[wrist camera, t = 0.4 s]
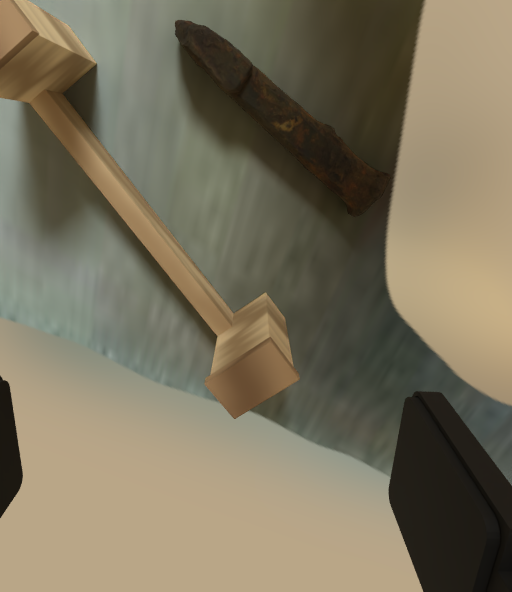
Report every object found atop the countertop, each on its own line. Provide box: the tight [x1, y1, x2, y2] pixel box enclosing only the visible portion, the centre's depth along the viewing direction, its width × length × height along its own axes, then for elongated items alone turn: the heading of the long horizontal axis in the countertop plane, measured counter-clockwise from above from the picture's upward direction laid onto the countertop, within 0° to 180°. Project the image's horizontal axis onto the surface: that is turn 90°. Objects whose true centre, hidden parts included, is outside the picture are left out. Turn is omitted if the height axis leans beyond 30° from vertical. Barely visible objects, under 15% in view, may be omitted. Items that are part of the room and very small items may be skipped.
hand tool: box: [175, 20, 391, 217], centre depth 32 cm, size 19×4×5 cm, turn 48°
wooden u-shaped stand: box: [0, 0, 300, 419], centre depth 31 cm, size 5×28×11 cm, turn 35°
